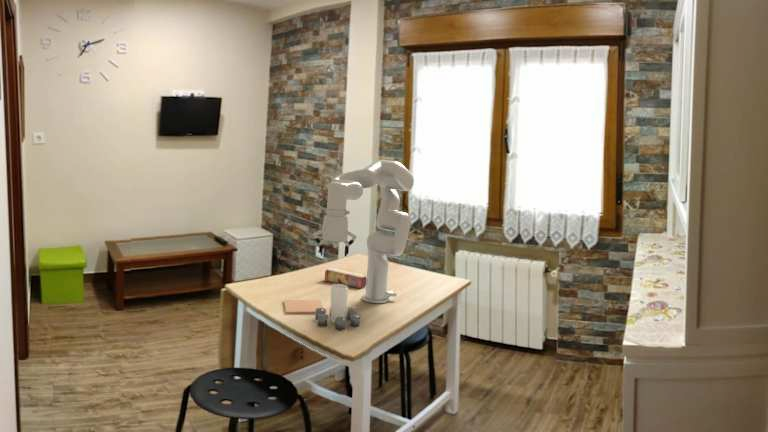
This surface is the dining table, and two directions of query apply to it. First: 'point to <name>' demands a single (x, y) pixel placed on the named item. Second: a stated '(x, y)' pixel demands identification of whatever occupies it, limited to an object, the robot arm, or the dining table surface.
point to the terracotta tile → (302, 306)
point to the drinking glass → (338, 301)
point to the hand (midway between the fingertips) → (333, 255)
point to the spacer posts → (338, 318)
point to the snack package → (345, 278)
